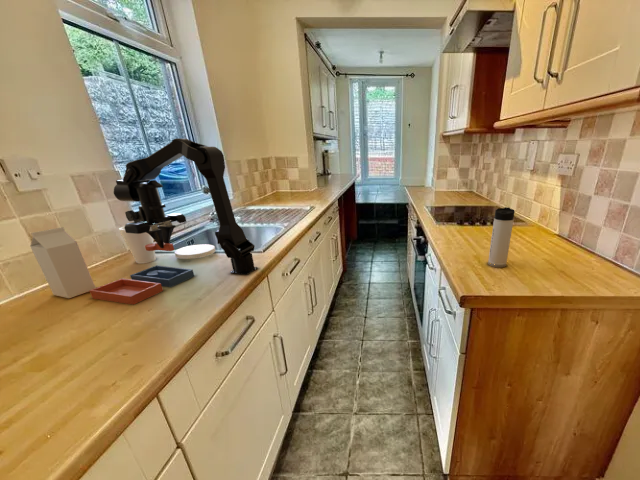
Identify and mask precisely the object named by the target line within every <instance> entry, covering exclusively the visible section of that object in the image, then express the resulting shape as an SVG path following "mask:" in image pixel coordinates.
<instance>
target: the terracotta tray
mask: <svg viewBox="0 0 640 480" xmlns="http://www.w3.org/2000/svg"><path fill="white" fill-rule="evenodd" d="M163 291H164V288H163V286H161V283H154V282H146V281H138V280H132V279H131V278H130V279H129V278H123V277H122V278H118V279H116V280H114V281H110V282H108V283H106V284H103V285H100V286H97V287H96V288H95V289H92V290H89V293H90V296H91V298H92V299H95V300H100V301H109V302H115V303H121V304H126V305H136V304H138V303H140V302H142V301H145V300H146V299H149V298H151V297H153V296H155V295H158V294H159V293H162V292H163Z"/></svg>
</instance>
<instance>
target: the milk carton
mask: <svg viewBox="0 0 640 480" xmlns="http://www.w3.org/2000/svg"><path fill="white" fill-rule="evenodd" d="M30 234H31V237H32V238H31V242H30V246H29V247H30V249H31V251H32V253H33V255H34V257H35V260H36V262H37V263H38V266H39V268H40V269H41V272H42V274H43V276H44V279H45V281H46V282H47V284H48V286H49V289H50V290H51V292H52V295H53V296H57V297H62V298H66V299H72V298H75V297H78V296H81V295H82V294H86V293H88V292H89V293H90V291H89V290H92V289H95V288H97V287H96V285H95V283H94V279H93V278H92V275H91V273H90V270H89V268H88V266H87V263H86V261H85V258H84V255H83V253H82V251H81V249H80V247H79V244H78V242H77V241H76V240H75V238H73V236H71V235H70V234H69V233H68V232H67V231H66V230H65V228H64V227H63V226H62V227H61V226H60V227H56V228H50V229H46V230H40V231H34V232H30Z"/></svg>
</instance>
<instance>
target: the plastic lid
mask: <svg viewBox="0 0 640 480" xmlns="http://www.w3.org/2000/svg"><path fill="white" fill-rule="evenodd" d="M215 252H216V246H215V245H214V244H208V243H207V244H205V243H201V244H200V243H199V244H191V245H187V246H182V247H180V248H177V249H175V250H174V255H175V258H177V259H182V260H190V259H192V260H193V259H198V258H203V257H204V258H205V257H208V256H210V255H213V254H215Z"/></svg>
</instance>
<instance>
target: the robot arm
mask: <svg viewBox="0 0 640 480" xmlns="http://www.w3.org/2000/svg"><path fill="white" fill-rule="evenodd" d="M182 157H184V158H185V159H187V160H189V161H192V162H194V164H195V166H196V169H197V170H198V172H199V173H200V174H201V175H202V176H203V177H204V179H205V180H206V183H207V186H208V190H209V193H210V197H211V200H212V204H213V206H214V207H213V208H214V210H215V213H216V216H217V220H218V223H219V229H218V230H215V231H214V235H215V237H216V240H217V245H219V246H220V248H221V249H222V250H223V252H224V254H225V255H226V258H227V259H230V263H231V268H232V270H231V271H230V274H234V275H244V276H246V275H249V274H251V273H253V272H254V271H256V270H258V269H259V267H258V266H255V264H254V263H255V262H254V257H253V253H252V252H254V251H255V244H254V243H252V242H251V240H249V239H248V237H246V234H245V232H244V230H243V228H242V227H241V226H240V225H239V224H238V222H237V220H236V218H235V214H234V210H233V206H232V204H231V199H230V197H229V193H228V189H227V184H226V182H225V179H224V175H225V171H226V163H225V162H226V161H225V156H224V153H223V151H222V150H220V149H219V148H218V147H216V146H208V145H205V144H201V143H198V142H195V141H192V140H190V139H188V138H173V139H172V140H171V141H170V142H169V143H168V144H166V145H164V146H163V147H161V148H159V149H157V150H156V151H155V152H153V153H152V154H150V155H149V156H147V157H143V158H138V159H135V160H131V161H129V162H127V163H126V164H125V172H124V175H123V177H122V179H117V180H115V183H116V184H115V185H114V187H113V195H114V197H115V198H116V199H117V200H118V201H120V202H131V203H132V202H133V203H134V202H135V203H136V202H137V203H140V205H138V211H134V210H133V209H132V210H127V211H125V212H124V213H125V218H126V219H127V221H129V223H125V225H124V226H125V231H126V233H134V234H141V233H145V232H146V233H148V234H149V235H150V236H151V237H152V238H153V241H154V242H155V243H157V244H158V245H159V247H160V248H164V243H170V242H171V238H172V235H173V231H174V229H175V228H176V227H177V225H175V224H173V222H177V223H179V224H183V223H186V222H187V218H186V216H185V215H184V214H183V213H169V214H166V213H165V210H164V208H167V206H166V204H165V203H162V199H161V196H160V192H159V189H160V188H163V187H164V186H163V184H162V183H160V182H158V181H157V180H156V178H157V177H159V175H160V174H161V172H162V170H163V169H164V168H165V167H167V166H168V165H170V164H172V163H174V162H176V161H177V160H179V159H180V158H182Z"/></svg>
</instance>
